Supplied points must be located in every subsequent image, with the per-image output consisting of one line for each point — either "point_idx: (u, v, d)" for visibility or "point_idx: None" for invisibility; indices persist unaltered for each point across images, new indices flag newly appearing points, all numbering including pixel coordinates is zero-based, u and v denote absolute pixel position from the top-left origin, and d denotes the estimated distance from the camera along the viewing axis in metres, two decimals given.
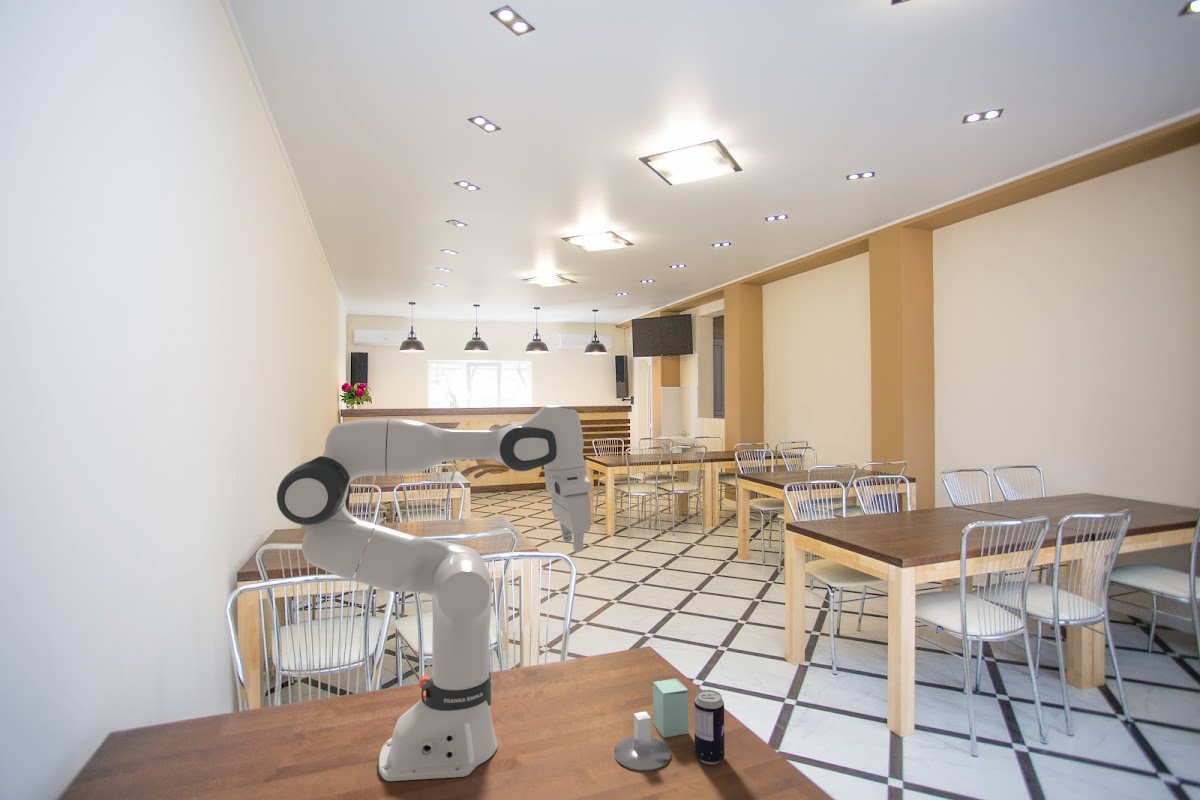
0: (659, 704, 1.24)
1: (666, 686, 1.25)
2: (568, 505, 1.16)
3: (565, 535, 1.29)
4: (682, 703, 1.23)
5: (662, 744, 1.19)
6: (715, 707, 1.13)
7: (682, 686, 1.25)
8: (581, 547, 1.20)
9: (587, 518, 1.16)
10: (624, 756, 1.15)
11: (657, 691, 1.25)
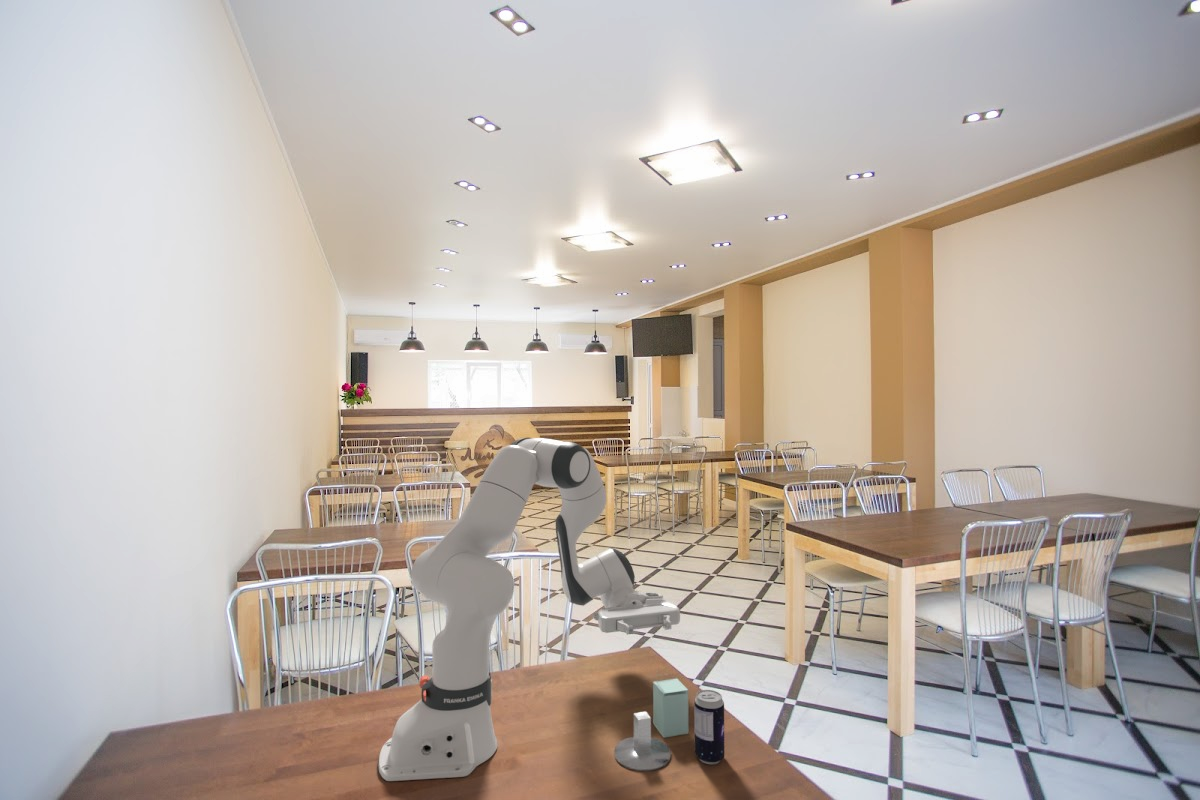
0: (659, 704, 1.24)
1: (666, 686, 1.25)
2: None
3: None
4: (682, 703, 1.23)
5: (662, 744, 1.19)
6: (715, 707, 1.13)
7: (682, 686, 1.25)
8: None
9: None
10: (624, 756, 1.15)
11: (657, 691, 1.25)
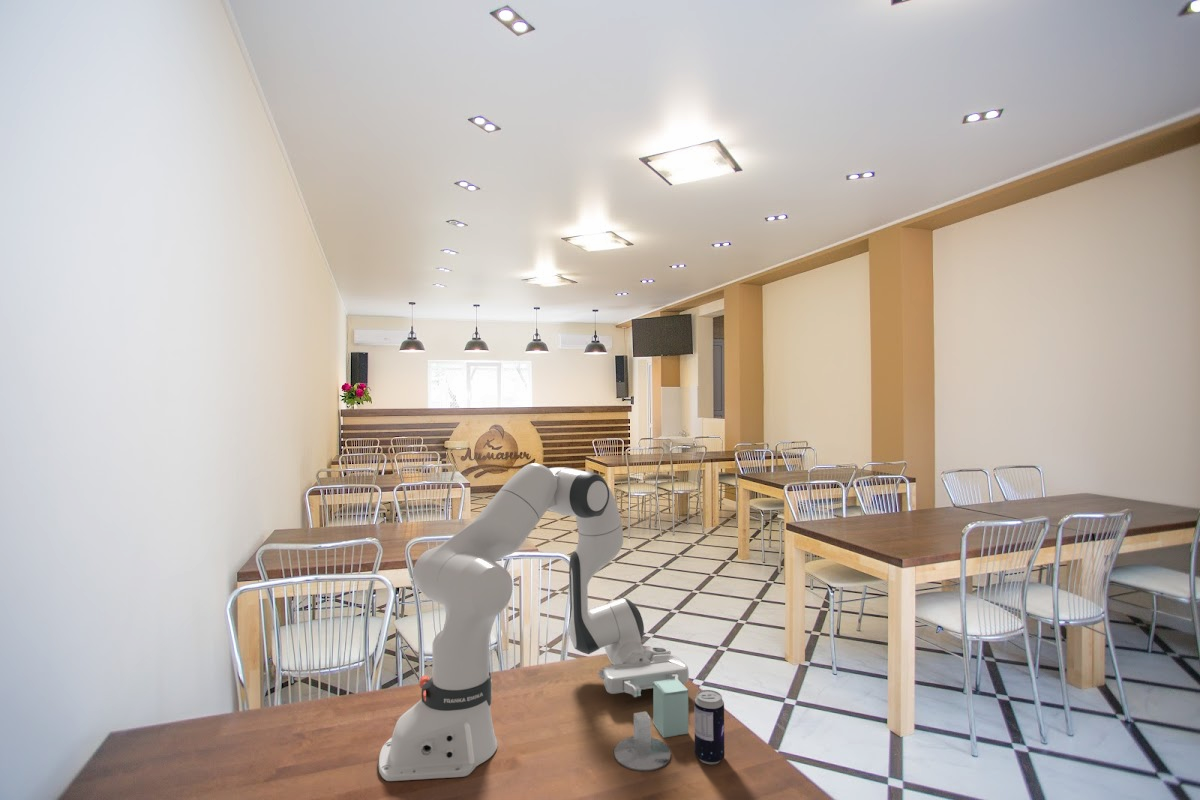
0: (659, 704, 1.24)
1: (666, 686, 1.25)
2: None
3: None
4: (682, 703, 1.23)
5: (662, 744, 1.19)
6: (715, 707, 1.13)
7: (682, 686, 1.25)
8: None
9: None
10: (624, 756, 1.15)
11: (657, 691, 1.25)
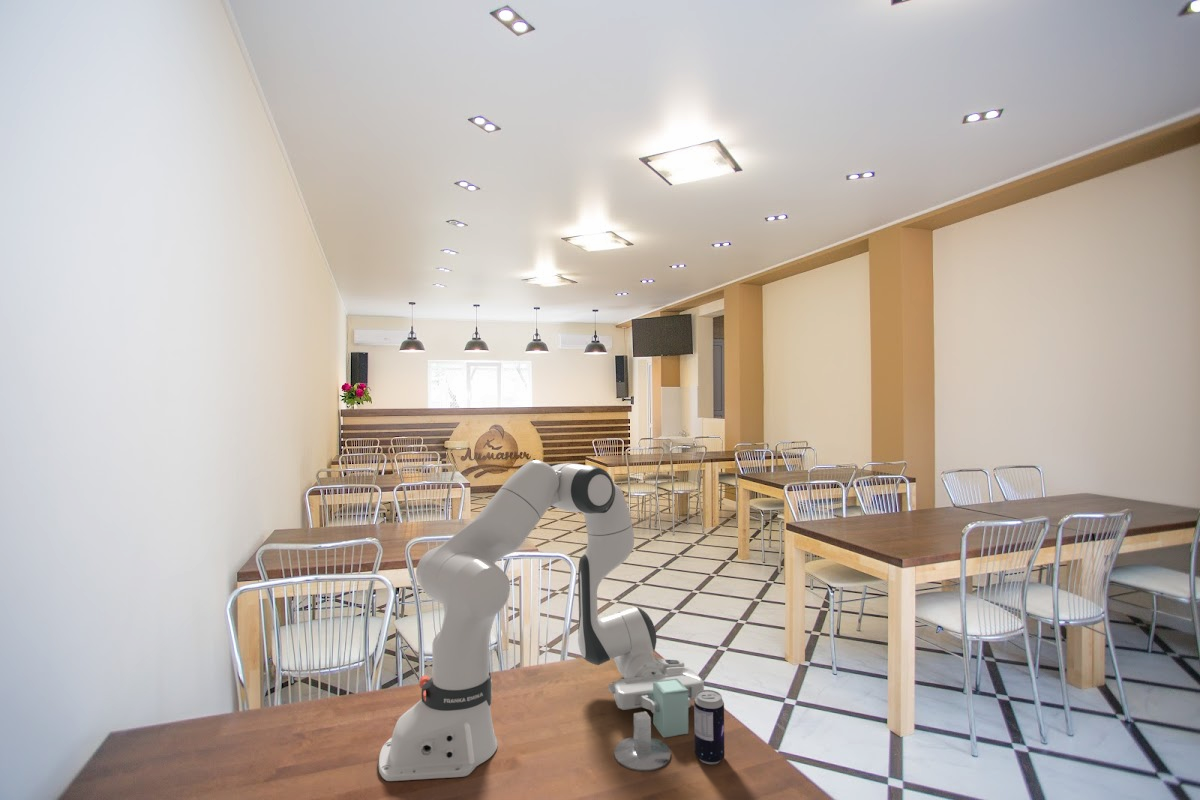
0: (659, 704, 1.24)
1: (666, 686, 1.25)
2: None
3: None
4: (682, 703, 1.23)
5: (662, 744, 1.19)
6: (715, 707, 1.13)
7: (682, 686, 1.25)
8: None
9: None
10: (624, 756, 1.15)
11: (657, 691, 1.25)
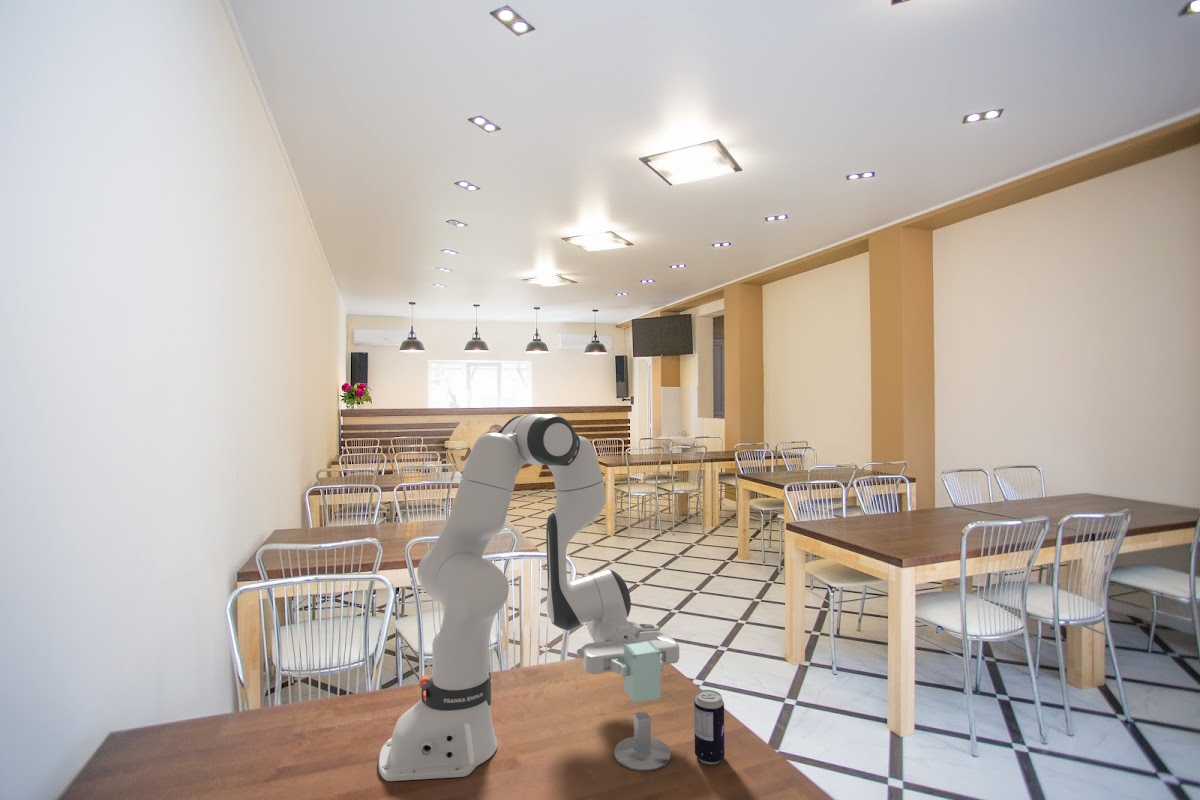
0: (629, 667, 1.15)
1: (637, 648, 1.16)
2: None
3: None
4: (654, 666, 1.14)
5: (662, 744, 1.19)
6: (715, 707, 1.13)
7: (654, 648, 1.16)
8: None
9: None
10: (624, 756, 1.15)
11: (627, 653, 1.16)
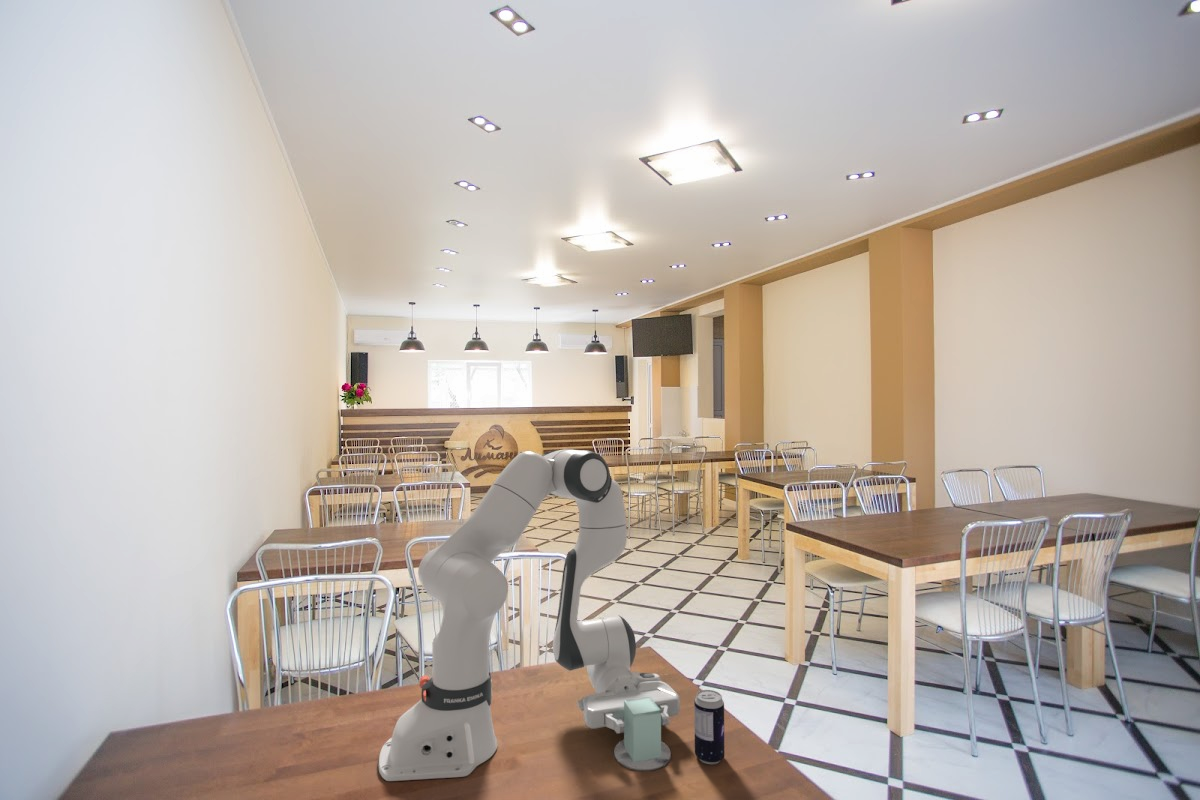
0: (629, 725, 1.15)
1: (637, 706, 1.16)
2: None
3: None
4: (654, 725, 1.14)
5: (662, 744, 1.19)
6: (715, 707, 1.13)
7: (655, 706, 1.16)
8: None
9: None
10: (624, 756, 1.15)
11: (628, 711, 1.16)
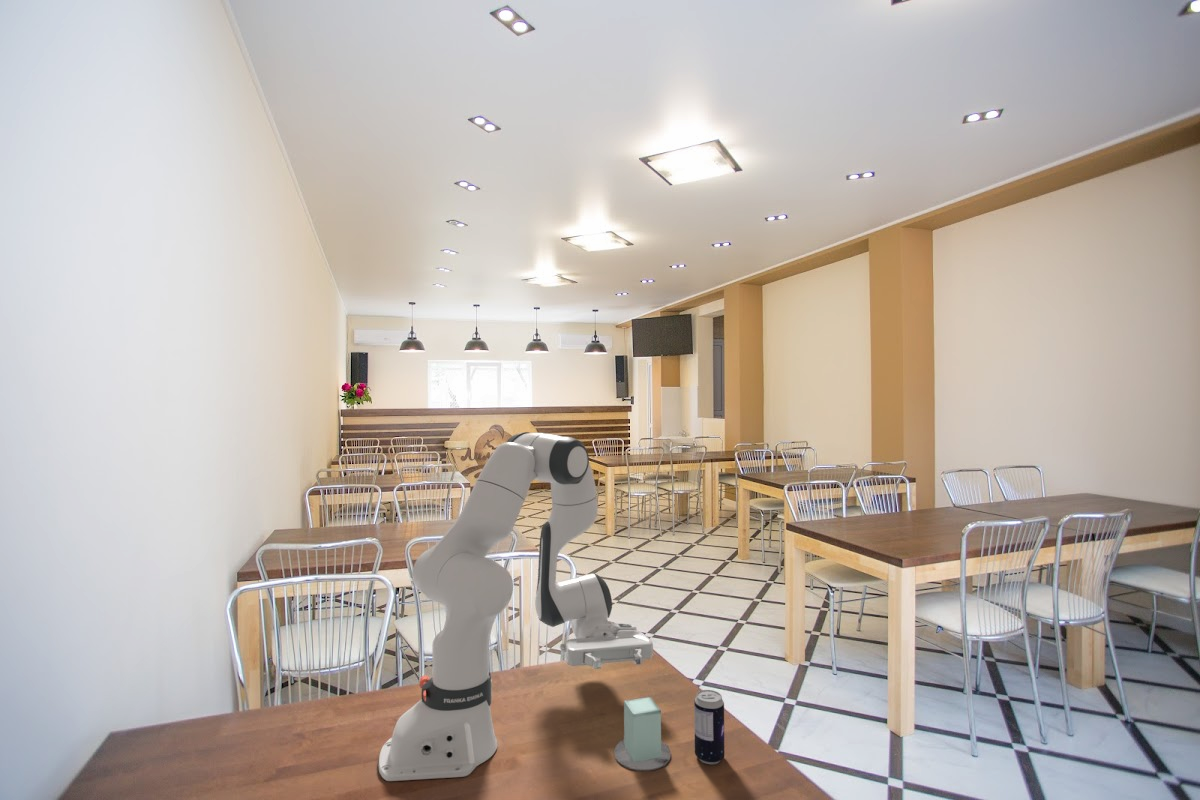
0: (629, 725, 1.15)
1: (637, 706, 1.16)
2: None
3: None
4: (654, 725, 1.14)
5: (662, 744, 1.19)
6: (715, 707, 1.13)
7: (655, 706, 1.16)
8: None
9: None
10: (624, 756, 1.15)
11: (628, 711, 1.16)
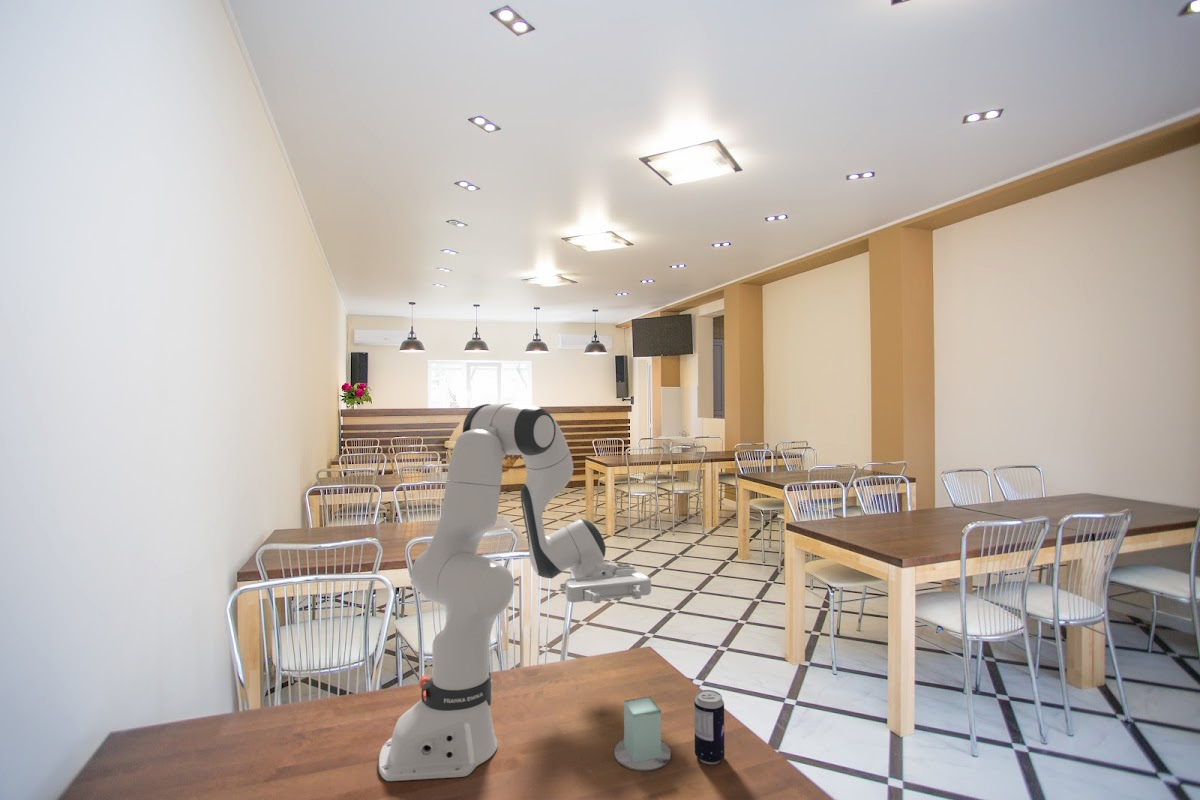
0: (629, 725, 1.15)
1: (637, 706, 1.16)
2: None
3: None
4: (654, 725, 1.14)
5: (662, 744, 1.19)
6: (715, 707, 1.13)
7: (655, 706, 1.16)
8: None
9: None
10: (624, 756, 1.15)
11: (628, 711, 1.16)
